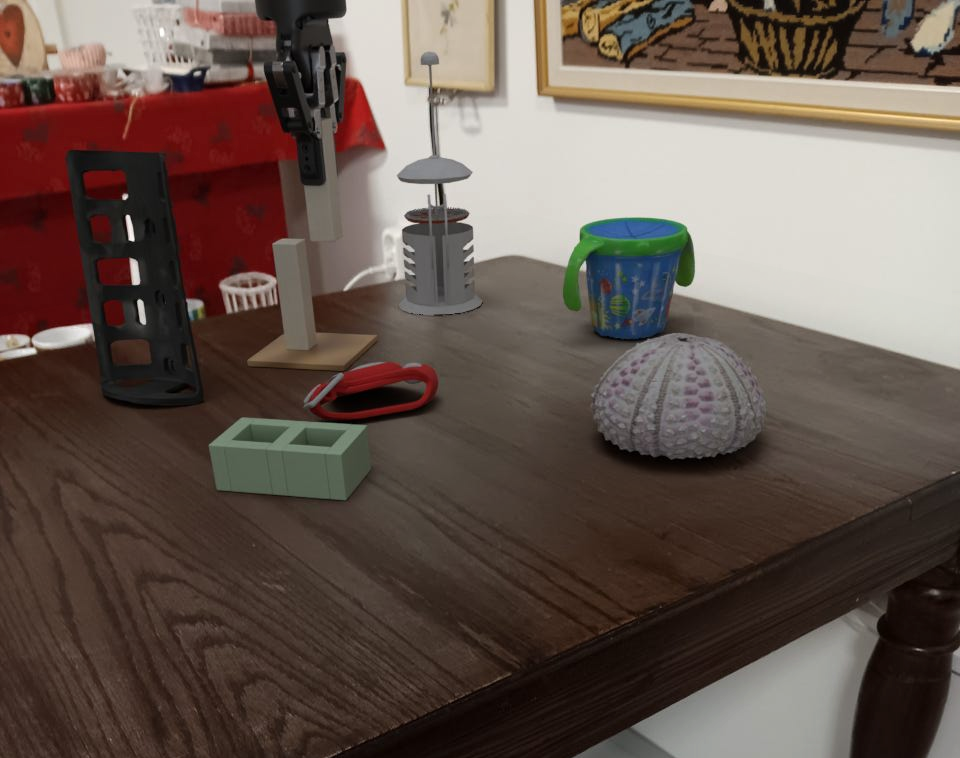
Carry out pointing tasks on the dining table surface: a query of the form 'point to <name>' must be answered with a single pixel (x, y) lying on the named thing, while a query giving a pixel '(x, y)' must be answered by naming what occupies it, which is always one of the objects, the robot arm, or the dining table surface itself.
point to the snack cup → (630, 273)
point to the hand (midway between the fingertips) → (319, 181)
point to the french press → (437, 237)
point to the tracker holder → (370, 379)
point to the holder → (156, 272)
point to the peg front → (325, 195)
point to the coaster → (315, 353)
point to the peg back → (295, 293)
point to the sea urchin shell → (679, 399)
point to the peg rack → (291, 458)
